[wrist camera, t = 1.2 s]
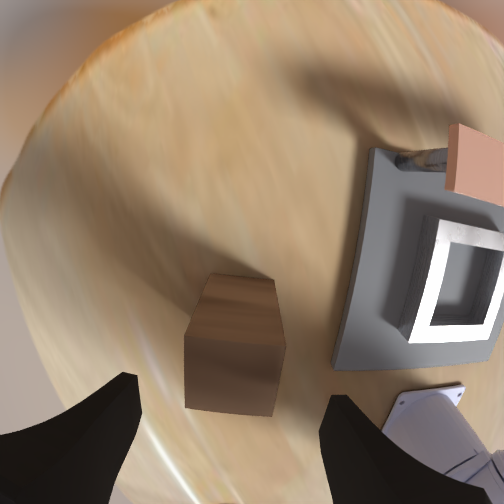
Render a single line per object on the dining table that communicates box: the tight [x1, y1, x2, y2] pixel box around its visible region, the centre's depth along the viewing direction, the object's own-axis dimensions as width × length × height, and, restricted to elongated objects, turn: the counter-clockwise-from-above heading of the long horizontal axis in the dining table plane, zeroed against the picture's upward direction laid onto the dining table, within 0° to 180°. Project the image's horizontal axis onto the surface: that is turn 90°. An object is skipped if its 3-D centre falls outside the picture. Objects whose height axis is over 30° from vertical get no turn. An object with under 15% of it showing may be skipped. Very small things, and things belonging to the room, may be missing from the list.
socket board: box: [331, 123, 504, 371], centre depth 15 cm, size 16×16×8 cm
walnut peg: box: [184, 274, 286, 417], centre depth 16 cm, size 4×4×8 cm
